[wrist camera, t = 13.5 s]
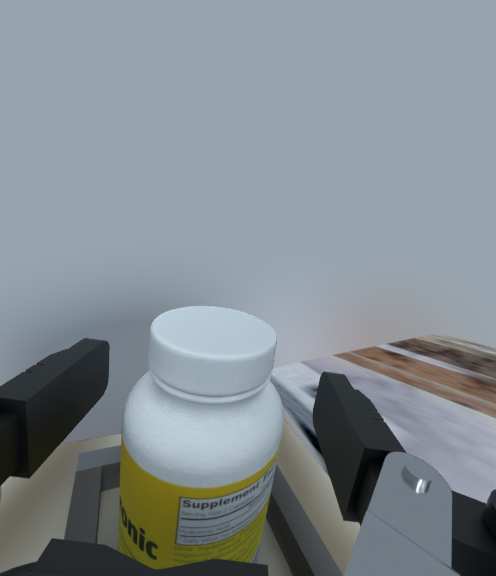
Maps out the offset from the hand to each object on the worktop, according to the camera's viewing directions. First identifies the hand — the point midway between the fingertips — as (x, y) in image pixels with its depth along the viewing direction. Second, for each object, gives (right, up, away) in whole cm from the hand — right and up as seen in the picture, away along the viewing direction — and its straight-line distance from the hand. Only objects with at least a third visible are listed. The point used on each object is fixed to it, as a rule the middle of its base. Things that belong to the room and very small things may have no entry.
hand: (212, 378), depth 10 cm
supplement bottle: (-1, -7, +1) cm, 8 cm away
